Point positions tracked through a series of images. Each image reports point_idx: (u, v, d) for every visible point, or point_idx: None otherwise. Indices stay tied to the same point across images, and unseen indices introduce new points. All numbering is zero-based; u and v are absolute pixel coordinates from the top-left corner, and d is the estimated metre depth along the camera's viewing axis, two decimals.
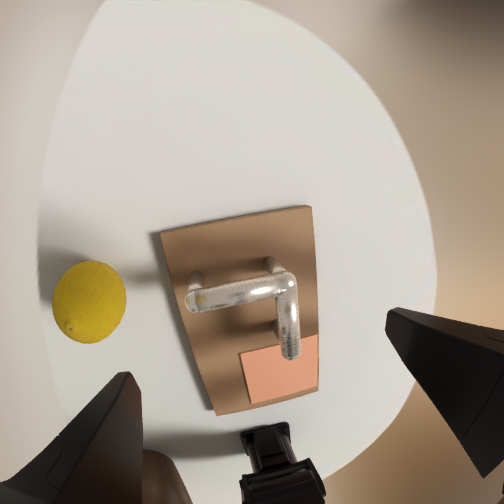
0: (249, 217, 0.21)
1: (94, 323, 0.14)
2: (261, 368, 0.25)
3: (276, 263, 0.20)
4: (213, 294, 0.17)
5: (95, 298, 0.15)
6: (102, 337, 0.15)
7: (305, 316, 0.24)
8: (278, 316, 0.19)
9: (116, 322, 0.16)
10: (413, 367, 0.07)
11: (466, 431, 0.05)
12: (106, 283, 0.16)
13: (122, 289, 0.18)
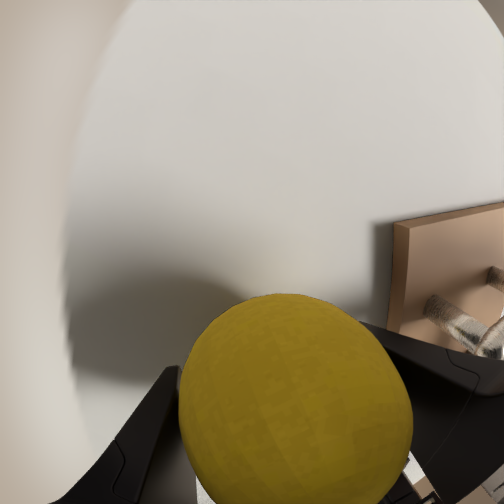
0: (490, 210, 0.10)
1: None
2: None
3: None
4: None
5: (410, 422, 0.04)
6: None
7: None
8: None
9: None
10: None
11: (428, 460, 0.04)
12: (392, 363, 0.05)
13: None
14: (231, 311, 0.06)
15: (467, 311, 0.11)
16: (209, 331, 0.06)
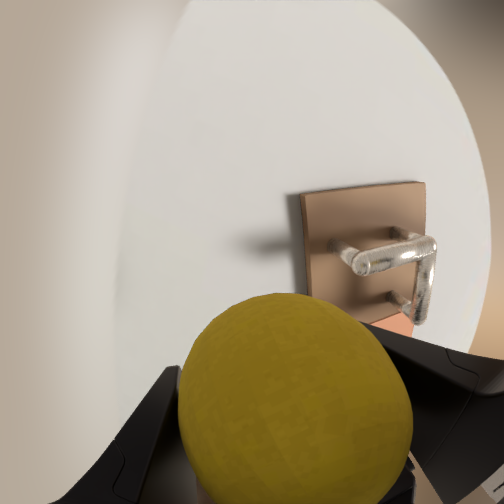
0: (383, 186, 0.19)
1: None
2: None
3: (408, 230, 0.19)
4: (383, 254, 0.15)
5: (411, 422, 0.04)
6: None
7: (411, 287, 0.23)
8: (419, 279, 0.17)
9: None
10: None
11: (428, 460, 0.04)
12: (392, 363, 0.05)
13: None
14: (231, 310, 0.06)
15: None
16: (209, 330, 0.06)
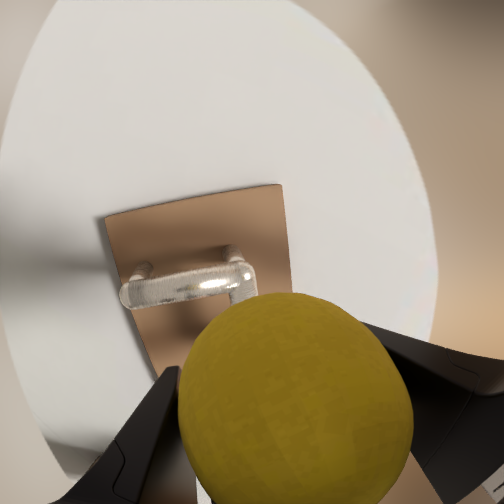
0: (204, 197, 0.17)
1: None
2: None
3: (234, 252, 0.17)
4: (149, 287, 0.13)
5: (411, 421, 0.04)
6: None
7: None
8: None
9: None
10: None
11: (428, 460, 0.04)
12: None
13: None
14: (231, 310, 0.06)
15: None
16: (209, 330, 0.06)
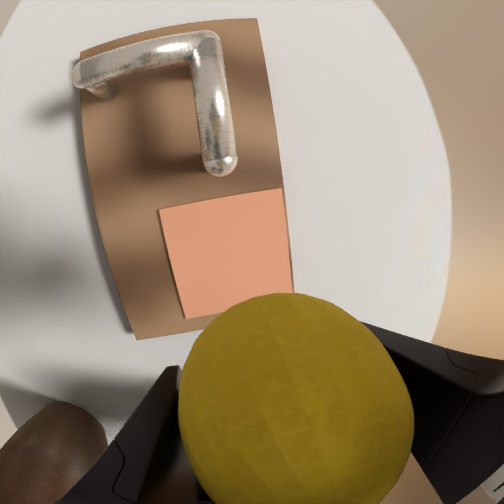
0: (179, 25, 0.12)
1: None
2: (194, 243, 0.17)
3: None
4: (103, 53, 0.08)
5: (411, 422, 0.04)
6: None
7: (259, 153, 0.16)
8: (193, 87, 0.10)
9: None
10: None
11: (428, 460, 0.04)
12: None
13: None
14: (231, 310, 0.06)
15: (168, 100, 0.14)
16: (209, 330, 0.06)
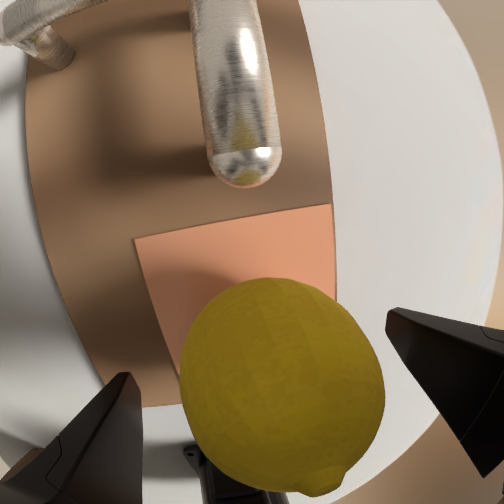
0: None
1: (369, 446, 0.05)
2: (192, 292, 0.10)
3: None
4: None
5: (380, 387, 0.05)
6: None
7: (297, 147, 0.10)
8: (191, 12, 0.04)
9: None
10: (413, 367, 0.07)
11: (466, 431, 0.05)
12: (365, 337, 0.06)
13: None
14: (226, 291, 0.08)
15: (151, 62, 0.08)
16: (207, 307, 0.07)
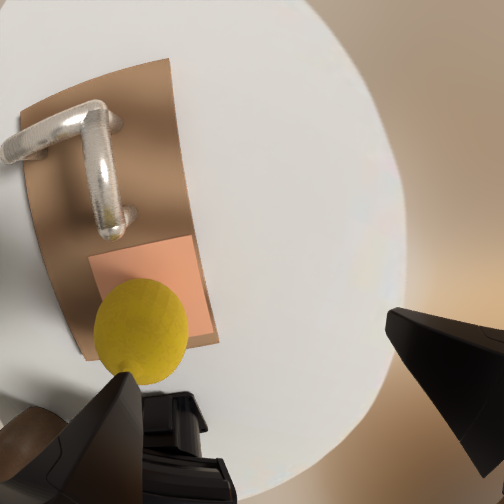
0: (97, 78, 0.13)
1: (161, 364, 0.12)
2: None
3: None
4: (18, 134, 0.09)
5: (161, 332, 0.12)
6: (166, 377, 0.13)
7: (168, 203, 0.17)
8: (84, 161, 0.11)
9: (182, 356, 0.14)
10: (413, 367, 0.07)
11: (466, 431, 0.05)
12: (171, 310, 0.13)
13: (185, 314, 0.15)
14: (120, 284, 0.15)
15: None
16: None
